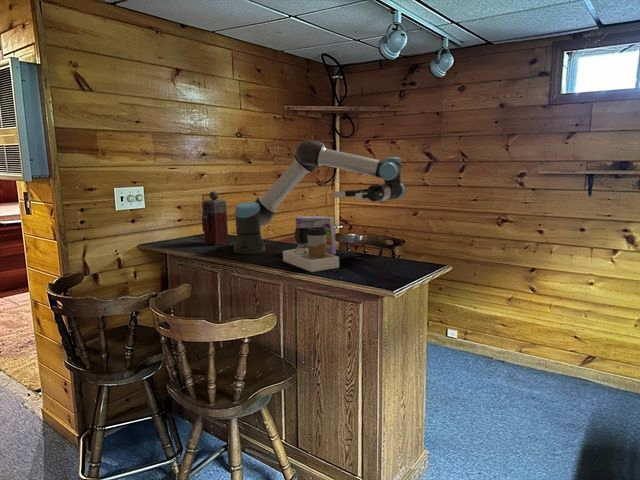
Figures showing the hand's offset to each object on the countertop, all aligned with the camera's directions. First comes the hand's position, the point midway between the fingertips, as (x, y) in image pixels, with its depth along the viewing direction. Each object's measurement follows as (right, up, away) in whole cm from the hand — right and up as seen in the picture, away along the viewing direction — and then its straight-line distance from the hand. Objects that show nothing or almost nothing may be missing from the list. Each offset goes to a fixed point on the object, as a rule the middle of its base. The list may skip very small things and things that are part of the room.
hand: (344, 195), depth 204 cm
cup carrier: (-15, -29, -1) cm, 33 cm away
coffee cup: (-12, -29, -6) cm, 32 cm away
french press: (-67, -21, +52) cm, 87 cm away
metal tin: (-18, -27, +4) cm, 33 cm away
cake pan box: (-13, -26, +21) cm, 35 cm away
